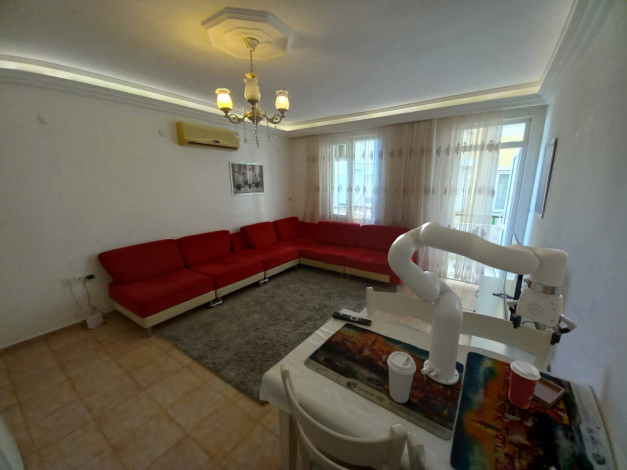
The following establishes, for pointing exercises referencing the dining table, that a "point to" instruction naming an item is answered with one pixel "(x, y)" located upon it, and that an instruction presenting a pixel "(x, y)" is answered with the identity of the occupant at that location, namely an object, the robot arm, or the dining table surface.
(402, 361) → the coffee cup
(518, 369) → the paper cup
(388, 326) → the dining table surface
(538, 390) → the tray
